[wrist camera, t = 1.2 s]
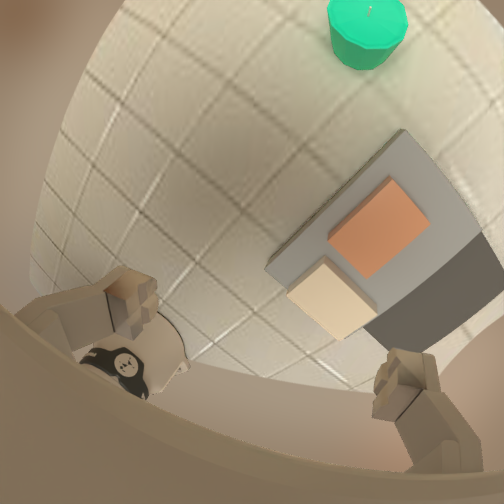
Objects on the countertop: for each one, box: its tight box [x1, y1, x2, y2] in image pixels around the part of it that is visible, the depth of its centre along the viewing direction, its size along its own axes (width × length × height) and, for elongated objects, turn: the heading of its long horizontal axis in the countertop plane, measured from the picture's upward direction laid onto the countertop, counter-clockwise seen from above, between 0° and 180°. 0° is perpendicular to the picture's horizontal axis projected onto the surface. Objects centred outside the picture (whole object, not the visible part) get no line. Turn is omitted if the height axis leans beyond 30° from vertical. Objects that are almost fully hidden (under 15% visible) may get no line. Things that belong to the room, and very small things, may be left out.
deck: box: [264, 129, 483, 339], centre depth 31 cm, size 22×14×2 cm, turn 141°
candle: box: [327, 0, 408, 70], centre depth 18 cm, size 6×6×12 cm
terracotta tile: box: [327, 175, 431, 279], centre depth 28 cm, size 9×6×2 cm, turn 141°
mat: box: [363, 232, 504, 353], centre depth 33 cm, size 20×11×1 cm, turn 141°
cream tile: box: [286, 255, 378, 341], centre depth 33 cm, size 9×6×2 cm, turn 51°
